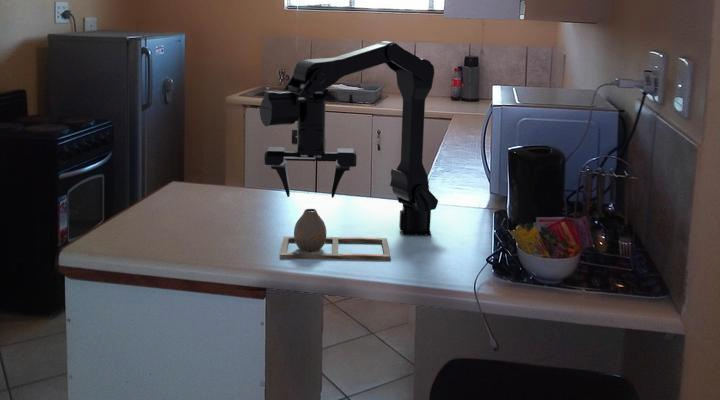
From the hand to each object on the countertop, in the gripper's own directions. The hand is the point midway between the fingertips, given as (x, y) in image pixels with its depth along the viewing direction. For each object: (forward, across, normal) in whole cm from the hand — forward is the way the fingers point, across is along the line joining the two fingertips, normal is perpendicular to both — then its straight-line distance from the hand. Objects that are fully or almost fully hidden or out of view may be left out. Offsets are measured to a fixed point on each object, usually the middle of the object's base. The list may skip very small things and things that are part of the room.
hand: (310, 196), depth 160 cm
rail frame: (+12, -5, 0) cm, 13 cm away
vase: (+12, 0, 0) cm, 12 cm away
